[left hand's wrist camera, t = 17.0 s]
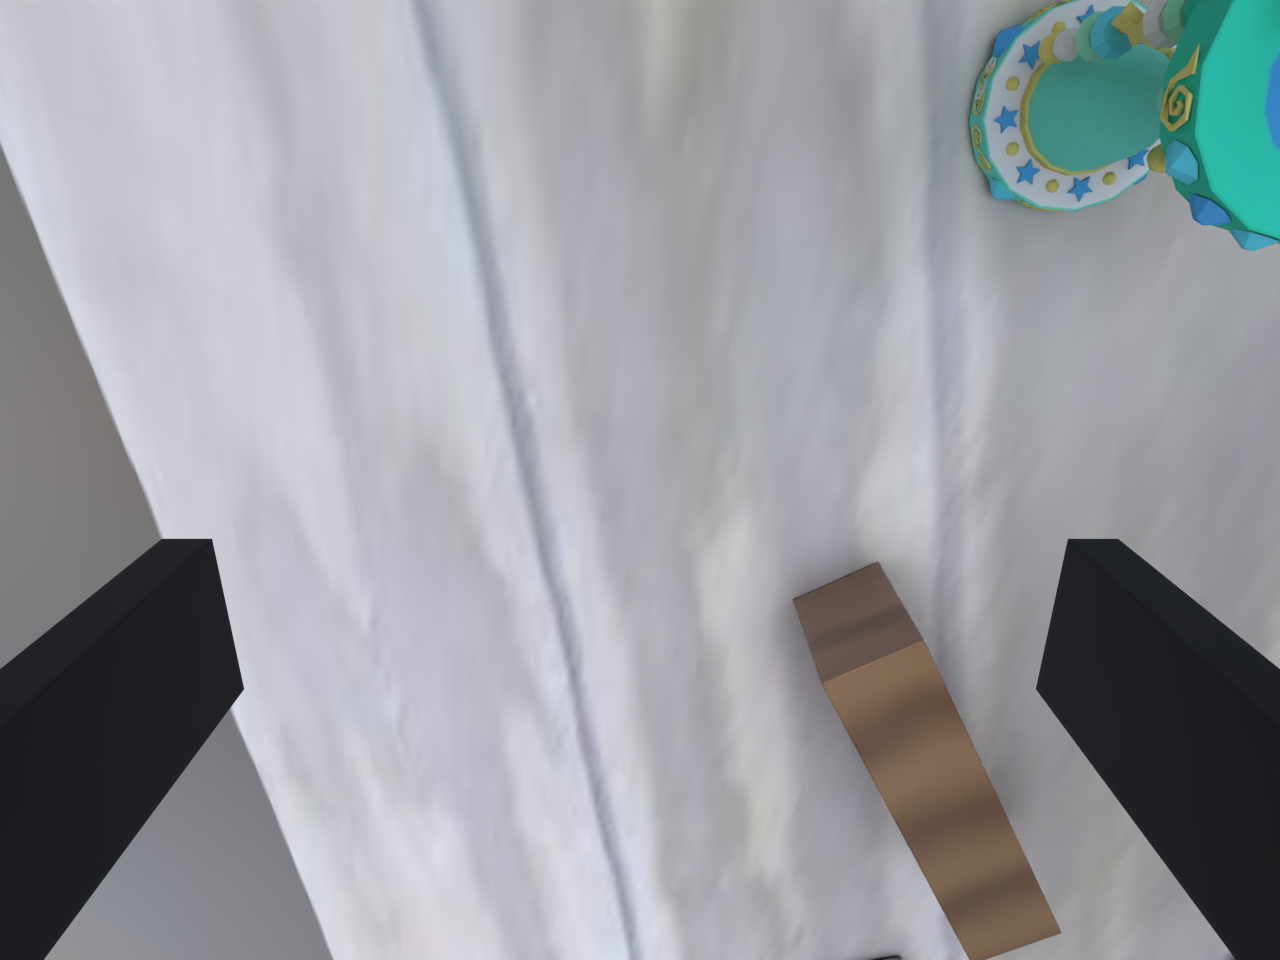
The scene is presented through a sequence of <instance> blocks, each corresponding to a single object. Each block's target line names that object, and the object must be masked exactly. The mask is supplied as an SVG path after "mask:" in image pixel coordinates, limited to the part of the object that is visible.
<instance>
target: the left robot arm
mask: <svg viewBox="0 0 1280 960" xmlns="http://www.w3.org/2000/svg"><path fill="white" fill-rule="evenodd" d="M243 690H244V687H243V682H242V677H241V673H240V668H239V663H238V659H237V654H236V649H235V645H234V640H233V635H232V631H231V626H230V621H229V617H228V612H227V607H226V603H225V598H224V593H223V588H222V584H221V579H220V574H219V570H218V565H217V560H216V556H215V551H214V546H213V542H212V539H161V540H160V541H159V542H158V543H156V544H155V545H154V546H153V547H151V548H150V549H149V550H148V551H146V552H145V553H144V554H143V555H141V556H140V557H139V558H138V559H137V560H135V561H134V562H133V563H131V564H130V565H129V566H128V567H127V568H125V569H124V570H123V571H122V572H120V573H119V574H118V575H117V576H115V577H114V578H113V579H112V580H110V581H109V582H108V583H107V584H105V585H104V586H103V587H102V588H101V589H99V590H98V591H97V592H96V593H94V594H93V595H92V596H91V597H89V598H88V599H87V600H86V601H84V602H83V603H82V604H81V605H79V606H78V607H77V608H76V609H74V610H73V611H72V612H71V613H69V614H68V615H67V616H66V617H64V618H63V619H62V620H61V621H59V622H58V623H57V624H56V625H54V626H53V627H52V628H51V629H50V630H48V631H47V632H46V633H45V634H43V635H42V636H41V637H40V638H38V639H37V640H36V641H35V642H33V643H32V644H31V645H30V646H28V647H27V648H26V649H25V650H23V651H22V652H21V653H20V654H18V655H17V656H16V657H15V658H13V659H12V660H11V661H10V662H9V663H7V664H6V665H5V666H4V667H2V668H1V669H0V960H44V959H45V957H46V956H47V955H48V953H49V952H50V951H51V949H52V948H53V947H54V945H55V944H56V942H57V941H58V940H59V938H60V937H61V936H62V934H63V933H64V932H65V930H66V929H67V928H68V926H69V925H70V924H71V922H72V921H73V920H74V918H75V917H76V915H77V914H78V913H79V911H80V910H81V909H82V907H83V906H84V905H85V903H86V902H87V901H88V899H89V898H90V897H91V895H92V894H93V892H94V891H95V890H96V888H97V887H98V886H99V884H100V883H101V882H102V880H103V879H104V878H105V876H106V875H107V874H108V872H109V871H110V870H111V868H112V867H113V865H114V864H115V863H116V861H117V860H118V859H119V857H120V856H121V855H122V853H123V852H124V851H125V849H126V848H127V847H128V845H129V844H130V842H131V841H132V840H133V838H134V837H135V836H136V834H137V833H138V832H139V830H140V829H141V828H142V826H143V825H144V824H145V822H146V821H147V820H148V818H149V817H150V815H151V814H152V813H153V811H154V810H155V809H156V807H157V806H158V805H159V803H160V802H161V801H162V799H163V798H164V797H165V795H166V794H167V793H168V791H169V790H170V788H171V787H172V786H173V784H174V783H175V782H176V780H177V779H178V778H179V776H180V775H181V774H182V772H183V771H184V769H185V768H186V767H187V765H188V764H189V763H190V761H191V760H192V759H193V757H194V756H195V755H196V753H197V752H198V751H199V749H200V748H201V747H202V745H203V744H204V743H205V741H206V740H207V738H208V737H209V736H210V734H211V733H212V732H213V730H214V729H215V728H216V726H217V725H218V724H219V722H220V721H221V720H222V718H223V717H224V715H225V714H226V713H227V711H228V710H229V709H230V707H231V706H232V705H233V703H234V702H235V701H236V699H237V698H238V697H239V695H240V694H241V693H242V691H243ZM1036 690H1037V691H1038V693H1039V694H1040V695H1041V697H1042V698H1043V699H1044V701H1045V702H1046V703H1047V705H1048V706H1049V707H1050V709H1051V710H1052V711H1053V713H1054V714H1055V715H1056V717H1057V718H1058V720H1059V721H1060V722H1061V724H1062V725H1063V726H1064V728H1065V729H1066V730H1067V732H1068V733H1069V734H1070V736H1071V737H1072V738H1073V740H1074V741H1075V743H1076V744H1077V745H1078V747H1079V748H1080V749H1081V751H1082V752H1083V753H1084V755H1085V756H1086V757H1087V759H1088V760H1089V761H1090V763H1091V764H1092V765H1093V767H1094V768H1095V770H1096V771H1097V772H1098V774H1099V775H1100V776H1101V778H1102V779H1103V780H1104V782H1105V783H1106V784H1107V786H1108V787H1109V788H1110V790H1111V791H1112V793H1113V794H1114V795H1115V797H1116V798H1117V799H1118V801H1119V802H1120V803H1121V805H1122V806H1123V807H1124V809H1125V810H1126V811H1127V813H1128V814H1129V815H1130V817H1131V818H1132V820H1133V821H1134V822H1135V824H1136V825H1137V826H1138V828H1139V829H1140V830H1141V832H1142V833H1143V834H1144V836H1145V837H1146V838H1147V840H1148V841H1149V843H1150V844H1151V845H1152V847H1153V848H1154V849H1155V851H1156V852H1157V853H1158V855H1159V856H1160V857H1161V859H1162V860H1163V861H1164V863H1165V864H1166V865H1167V867H1168V868H1169V870H1170V871H1171V872H1172V874H1173V875H1174V876H1175V878H1176V879H1177V880H1178V882H1179V883H1180V884H1181V886H1182V887H1183V888H1184V890H1185V891H1186V892H1187V894H1188V895H1189V897H1190V898H1191V899H1192V901H1193V902H1194V903H1195V905H1196V906H1197V907H1198V909H1199V910H1200V911H1201V913H1202V914H1203V915H1204V917H1205V918H1206V920H1207V921H1208V922H1209V924H1210V925H1211V926H1212V928H1213V929H1214V930H1215V932H1216V933H1217V934H1218V936H1219V937H1220V938H1221V940H1222V941H1223V942H1224V944H1225V945H1226V947H1227V948H1228V949H1229V951H1230V952H1231V953H1232V955H1233V956H1234V957H1235V959H1236V960H1280V669H1279V668H1278V667H1276V666H1275V665H1274V664H1273V663H1271V662H1270V661H1269V660H1268V659H1267V658H1265V657H1264V656H1263V655H1262V654H1260V653H1259V652H1258V651H1257V650H1255V649H1254V648H1253V647H1252V646H1250V645H1249V644H1248V643H1247V642H1245V641H1244V640H1243V639H1242V638H1240V637H1239V636H1238V635H1237V634H1235V633H1234V632H1233V631H1232V630H1230V629H1229V628H1228V627H1227V626H1226V625H1224V624H1223V623H1222V622H1221V621H1219V620H1218V619H1217V618H1216V617H1214V616H1213V615H1212V614H1211V613H1209V612H1208V611H1207V610H1206V609H1204V608H1203V607H1202V606H1201V605H1199V604H1198V603H1197V602H1196V601H1194V600H1193V599H1192V598H1191V597H1190V596H1188V595H1187V594H1186V593H1185V592H1183V591H1182V590H1181V589H1180V588H1178V587H1177V586H1176V585H1175V584H1173V583H1172V582H1171V581H1170V580H1168V579H1167V578H1166V577H1165V576H1163V575H1162V574H1161V573H1160V572H1158V571H1157V570H1156V569H1155V568H1153V567H1152V566H1151V565H1150V564H1149V563H1147V562H1146V561H1145V560H1144V559H1142V558H1141V557H1140V556H1139V555H1137V554H1136V553H1135V552H1134V551H1132V550H1131V549H1130V548H1129V547H1127V546H1126V545H1125V544H1124V543H1122V542H1121V541H1120V540H1119V539H1068V542H1067V546H1066V551H1065V556H1064V560H1063V565H1062V570H1061V574H1060V579H1059V584H1058V588H1057V593H1056V598H1055V603H1054V607H1053V612H1052V617H1051V621H1050V626H1049V631H1048V635H1047V640H1046V645H1045V649H1044V654H1043V659H1042V663H1041V668H1040V673H1039V677H1038V682H1037V687H1036Z"/></svg>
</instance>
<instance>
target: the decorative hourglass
mask: <svg viewBox="0 0 1280 960" xmlns="http://www.w3.org/2000/svg"><path fill="white" fill-rule="evenodd" d="M1069 1H1070V2H1069ZM1066 2H1067V3H1066ZM1063 3H1065V4H1063ZM1060 4H1062V5H1060ZM1057 5H1059V6H1057ZM1053 6H1056V7H1053ZM1051 7H1053V8H1051ZM969 126H970V132H971V138H972V144H973V150H974V156H975V160H976V162H977V163H978V165H979V166H980V168H981V169H982V171H983V172H984V174H985V175H986V177H987V178H988V180H989V185H990V189H991V194H992V196H993V197H994V198H995V199H997V200H1014V201H1016V202H1017V203H1019V204H1021V205H1022V206H1025V207H1028V208H1031V209H1038V210H1048V211H1061V212H1063V211H1065V210H1066V211H1078V210H1082V209H1085V208H1087V207H1091V206H1094V205H1097V204H1100V203H1106V202H1107V201H1110V200H1113V199H1114V198H1116V197H1117V196H1118V195H1120V194H1121V193H1122V192H1124V191H1125V190H1126V189H1128V188H1129V187H1130V186H1132V185H1134V184H1138V183H1139V182H1141V181H1142V180H1143V179H1145V178H1146V176H1147V174H1148V172H1149V170H1150V169H1151V170H1153V171H1155V172H1160V173H1163V172H1165V171H1166V172H1165V173H1166V174H1168V175H1170V176H1172V178H1173V181H1174V185H1175V188H1176V190H1177V191H1178V192H1179V193H1180V194H1181V195H1182V196H1183V197H1184V198H1185V199H1186V200H1187V201H1188V202H1189V203H1190V208H1191V212H1192V217H1193V219H1194V220H1195V221H1197V222H1198V223H1200V224H1202V225H1213V226H1216V227H1220V228H1223V229H1227V230H1229V232H1230V233H1231V234H1232V236H1233V237H1234V238H1235V240H1236V241H1237V242H1238V244H1239V245H1240V246H1241V248H1242V249H1247V250H1252V251H1255V250H1257V249H1260V248H1263V247H1266V246H1269V245H1272V244H1275V243H1279V244H1280V0H1152V1H1151V3H1150V4H1149V6H1148V8H1147V7H1145V6H1144V5H1143V4H1141V3H1140V2H1138V1H1137V0H1073V1H1072V0H1065V1H1063V2H1060V3H1057V4H1053V5H1051V6H1050V7H1049V8H1047V6H1046V7H1045V8H1043V9H1041V10H1039V11H1038V12H1037V13H1035V14H1034V15H1032V16H1031V17H1030V18H1029V19H1027V20H1026V21H1025V22H1024V23H1023V24H1022V25H1016V26H1013V27H1010V28H1007V29H1004V30H1001V31H1000V32H999V34H998V35H997V37H996V41H995V44H994V48H993V55H992V57H991V59H990V60H989V62H988V64H987V65H986V67H985V69H984V70H983V72H982V74H981V75H980V77H979V79H978V81H977V84H976V89H975V94H974V99H973V104H972V109H971V114H970V119H969Z"/></svg>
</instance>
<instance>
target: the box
mask: <svg viewBox="0 0 1280 960" xmlns="http://www.w3.org/2000/svg"><path fill="white" fill-rule="evenodd" d="M793 602H794V605H795V608H796V611H797V613H798V616H799V619H800V622H801V625H802V628H803V631H804V634H805V637H806V640H807V643H808V645H809V648H810V651H811V654H812V657H813V660H814V663H815V666H816V669H817V672H818V675H819V678H820V680H821V683H822V685H823V687H824V689H825V691H826V693H827V695H828V697H829V698H830V700H831V702H832V704H833V706H834V708H835V710H836V712H837V713H838V715H839V717H840V719H841V721H842V723H843V725H844V726H845V728H846V730H847V732H848V734H849V736H850V738H851V740H852V741H853V743H854V745H855V747H856V749H857V751H858V753H859V754H860V756H861V758H862V760H863V762H864V764H865V766H866V768H867V769H868V771H869V773H870V775H871V777H872V779H873V781H874V782H875V784H876V786H877V788H878V790H879V792H880V794H881V796H882V797H883V799H884V801H885V803H886V805H887V807H888V809H889V810H890V812H891V814H892V816H893V818H894V820H895V822H896V824H897V825H898V827H899V829H900V831H901V833H902V835H903V837H904V838H905V840H906V842H907V844H908V846H909V848H910V850H911V852H912V853H913V855H914V857H915V859H916V861H917V863H918V865H919V866H920V868H921V870H922V872H923V874H924V876H925V878H926V880H927V881H928V883H929V885H930V887H931V889H932V891H933V893H934V894H935V896H936V898H937V900H938V902H939V904H940V906H941V908H942V909H943V911H944V913H945V915H946V917H947V919H948V921H949V922H950V924H951V926H952V928H953V930H954V932H955V934H956V936H957V937H958V939H959V941H960V943H961V945H962V947H963V949H964V950H965V952H966V954H967V956H968V958H969V960H986V959H988V958H991V957H994V956H997V955H1000V954H1003V953H1006V952H1008V951H1011V950H1014V949H1017V948H1020V947H1023V946H1026V945H1028V944H1031V943H1034V942H1037V941H1040V940H1043V939H1046V938H1048V937H1051V936H1054V935H1057V934H1060V933H1061V931H1060V929H1059V927H1058V924H1057V922H1056V920H1055V918H1054V916H1053V914H1052V912H1051V910H1050V907H1049V905H1048V903H1047V901H1046V899H1045V897H1044V895H1043V893H1042V890H1041V888H1040V886H1039V884H1038V882H1037V880H1036V878H1035V875H1034V873H1033V871H1032V869H1031V867H1030V865H1029V863H1028V861H1027V858H1026V856H1025V854H1024V852H1023V850H1022V848H1021V846H1020V844H1019V841H1018V839H1017V837H1016V835H1015V833H1014V831H1013V829H1012V827H1011V824H1010V822H1009V820H1008V818H1007V816H1006V814H1005V812H1004V810H1003V807H1002V805H1001V803H1000V801H999V799H998V797H997V795H996V793H995V790H994V788H993V786H992V784H991V782H990V780H989V778H988V776H987V773H986V771H985V769H984V767H983V765H982V763H981V761H980V759H979V756H978V754H977V752H976V750H975V748H974V746H973V744H972V741H971V739H970V737H969V735H968V733H967V731H966V729H965V727H964V724H963V722H962V720H961V718H960V716H959V714H958V712H957V710H956V707H955V705H954V703H953V701H952V699H951V697H950V695H949V693H948V690H947V688H946V686H945V684H944V682H943V680H942V678H941V676H940V673H939V671H938V669H937V667H936V665H935V663H934V661H933V659H932V656H931V654H930V652H929V650H928V648H927V646H926V644H925V642H924V640H923V638H922V636H921V634H920V633H919V631H918V629H917V628H916V626H915V624H914V622H913V621H912V619H911V617H910V616H909V614H908V612H907V610H906V609H905V607H904V605H903V604H902V602H901V600H900V599H899V597H898V595H897V593H896V592H895V590H894V588H893V587H892V585H891V583H890V581H889V580H888V578H887V576H886V575H885V573H884V571H883V569H882V568H881V566H880V564H879V563H878V562H876V563H874V564H872V565H870V566H867V567H865V568H863V569H861V570H859V571H856V572H854V573H852V574H850V575H847V576H845V577H843V578H841V579H838V580H836V581H834V582H832V583H830V584H827V585H825V586H823V587H821V588H818V589H816V590H814V591H812V592H809V593H807V594H805V595H803V596H801V597H798V598H796V599H794V600H793Z"/></svg>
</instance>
